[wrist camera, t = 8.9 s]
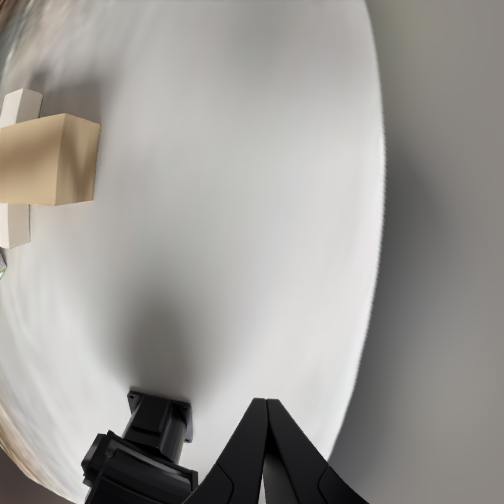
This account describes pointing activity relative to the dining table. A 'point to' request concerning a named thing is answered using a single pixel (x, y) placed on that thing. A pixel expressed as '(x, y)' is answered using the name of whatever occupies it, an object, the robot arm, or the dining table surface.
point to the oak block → (48, 160)
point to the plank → (6, 214)
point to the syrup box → (2, 266)
